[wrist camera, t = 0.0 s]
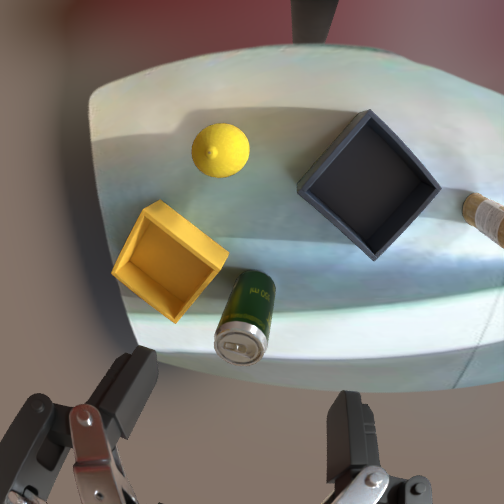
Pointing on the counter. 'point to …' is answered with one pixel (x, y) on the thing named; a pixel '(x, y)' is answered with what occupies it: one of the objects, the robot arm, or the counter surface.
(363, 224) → the slate bin
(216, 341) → the beer can
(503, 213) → the sprinkles bottle
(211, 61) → the counter surface
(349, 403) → the robot arm
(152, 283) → the yellow bin
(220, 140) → the lemon
